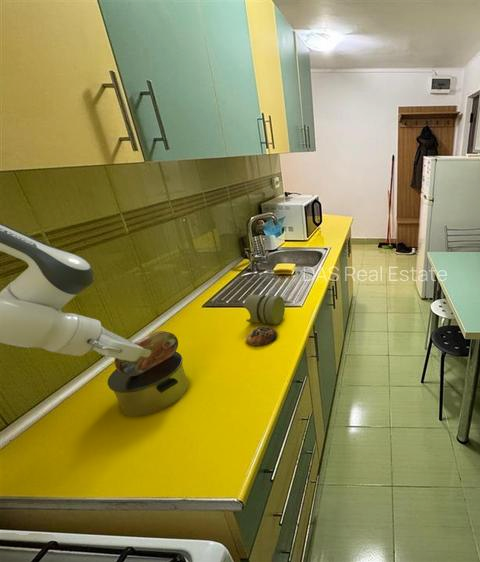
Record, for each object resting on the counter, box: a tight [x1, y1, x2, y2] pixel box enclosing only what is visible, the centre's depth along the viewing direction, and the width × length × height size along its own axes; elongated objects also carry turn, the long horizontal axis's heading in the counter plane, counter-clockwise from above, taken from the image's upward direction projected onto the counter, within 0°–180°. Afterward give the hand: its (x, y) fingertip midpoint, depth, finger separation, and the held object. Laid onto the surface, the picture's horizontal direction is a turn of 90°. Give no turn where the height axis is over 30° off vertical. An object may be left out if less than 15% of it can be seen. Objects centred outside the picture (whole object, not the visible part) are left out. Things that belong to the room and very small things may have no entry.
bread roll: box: [245, 325, 278, 347], centre depth 113 cm, size 11×11×5 cm
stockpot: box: [106, 351, 189, 417], centre depth 86 cm, size 19×17×9 cm
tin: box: [114, 330, 179, 376], centre depth 84 cm, size 15×3×8 cm, turn 152°
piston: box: [242, 294, 286, 325], centre depth 123 cm, size 11×12×11 cm
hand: (139, 348), depth 82 cm, fingers open, 8 cm apart
